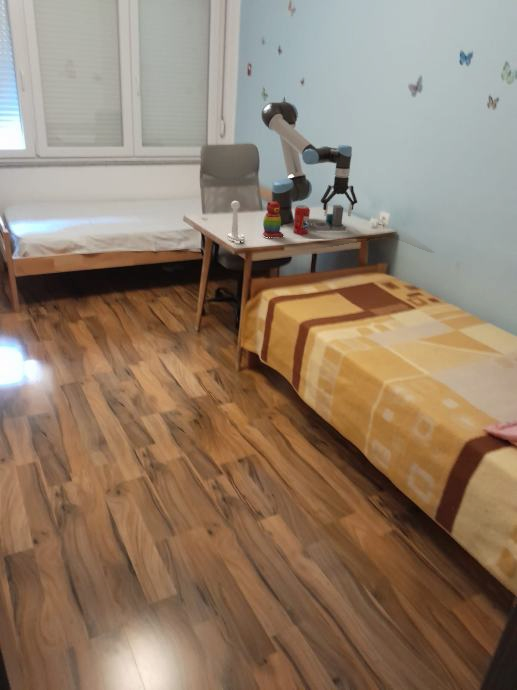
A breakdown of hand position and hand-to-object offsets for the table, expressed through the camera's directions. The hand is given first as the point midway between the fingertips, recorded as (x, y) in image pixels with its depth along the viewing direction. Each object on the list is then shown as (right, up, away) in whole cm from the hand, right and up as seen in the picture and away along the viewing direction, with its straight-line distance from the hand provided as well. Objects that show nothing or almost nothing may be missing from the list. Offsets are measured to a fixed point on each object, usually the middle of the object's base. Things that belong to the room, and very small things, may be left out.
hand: (337, 216), depth 289 cm
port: (0, -5, +5) cm, 7 cm away
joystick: (-54, -18, -22) cm, 61 cm away
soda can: (-21, -12, -8) cm, 25 cm away
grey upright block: (0, -6, +3) cm, 7 cm away
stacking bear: (-37, -14, -12) cm, 41 cm away
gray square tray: (-5, -7, +3) cm, 9 cm away
